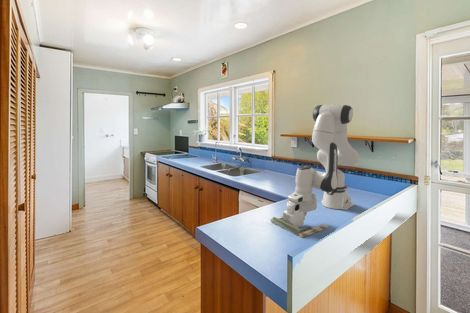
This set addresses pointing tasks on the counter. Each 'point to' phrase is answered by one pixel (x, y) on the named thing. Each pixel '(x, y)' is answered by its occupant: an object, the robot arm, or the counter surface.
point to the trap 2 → (306, 229)
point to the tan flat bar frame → (294, 229)
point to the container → (294, 216)
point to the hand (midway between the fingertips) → (301, 220)
